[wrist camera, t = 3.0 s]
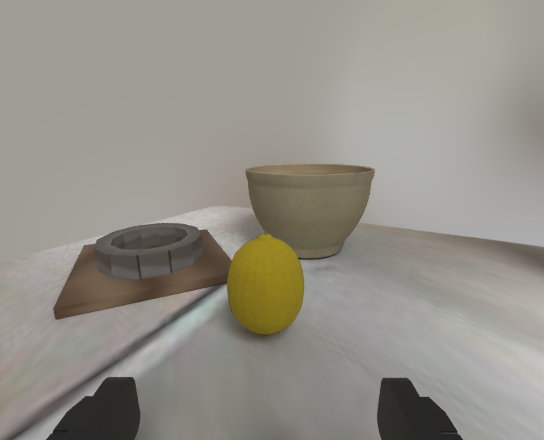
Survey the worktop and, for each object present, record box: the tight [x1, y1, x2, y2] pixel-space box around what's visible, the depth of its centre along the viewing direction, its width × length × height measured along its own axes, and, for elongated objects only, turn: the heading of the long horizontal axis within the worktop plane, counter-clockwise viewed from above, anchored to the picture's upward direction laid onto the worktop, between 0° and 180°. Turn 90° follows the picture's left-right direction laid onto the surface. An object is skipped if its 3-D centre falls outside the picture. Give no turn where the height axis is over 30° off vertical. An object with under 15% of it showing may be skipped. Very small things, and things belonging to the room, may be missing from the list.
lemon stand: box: [53, 223, 232, 319], centre depth 33 cm, size 16×16×4 cm
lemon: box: [227, 233, 304, 335], centre depth 21 cm, size 6×6×8 cm
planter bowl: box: [246, 164, 375, 259], centre depth 38 cm, size 16×16×11 cm
